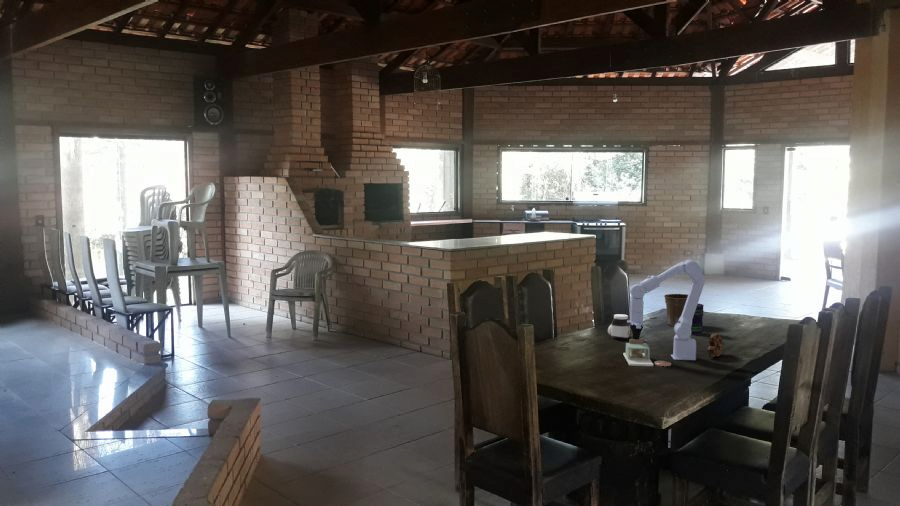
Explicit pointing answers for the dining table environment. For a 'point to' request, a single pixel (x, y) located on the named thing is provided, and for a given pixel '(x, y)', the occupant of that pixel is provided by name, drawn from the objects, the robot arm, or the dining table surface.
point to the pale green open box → (637, 347)
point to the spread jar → (619, 327)
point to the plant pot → (674, 307)
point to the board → (638, 361)
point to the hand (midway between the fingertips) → (635, 341)
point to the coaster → (662, 363)
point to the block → (636, 353)
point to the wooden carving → (715, 345)
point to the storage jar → (697, 320)
